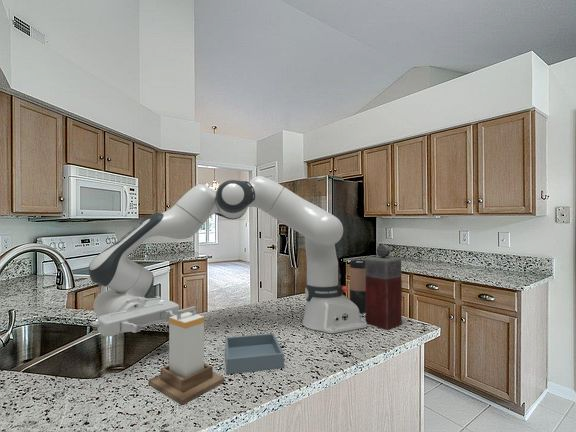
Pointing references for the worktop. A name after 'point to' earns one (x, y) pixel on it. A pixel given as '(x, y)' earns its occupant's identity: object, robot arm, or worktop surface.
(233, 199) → the robot arm
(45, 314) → the worktop surface
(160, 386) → the dock
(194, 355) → the tall lidded canister
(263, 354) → the tray
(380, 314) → the red square storage jar
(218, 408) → the worktop surface
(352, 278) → the travel mug
